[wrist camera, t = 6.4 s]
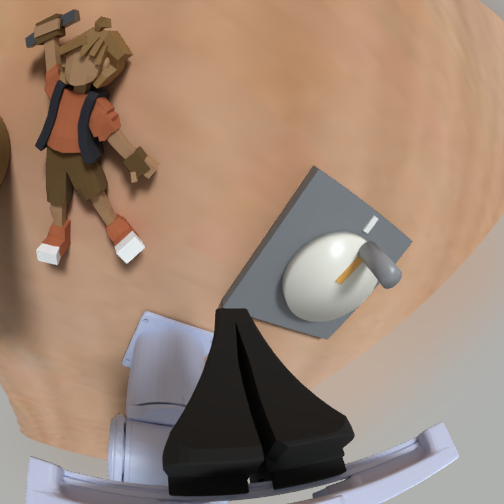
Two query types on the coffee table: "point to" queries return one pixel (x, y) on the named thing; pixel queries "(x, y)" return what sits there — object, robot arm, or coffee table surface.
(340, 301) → the dial
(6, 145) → the plant pot
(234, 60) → the coffee table surface
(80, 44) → the character figurine
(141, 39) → the coffee table surface
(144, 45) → the coffee table surface
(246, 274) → the stand plate
